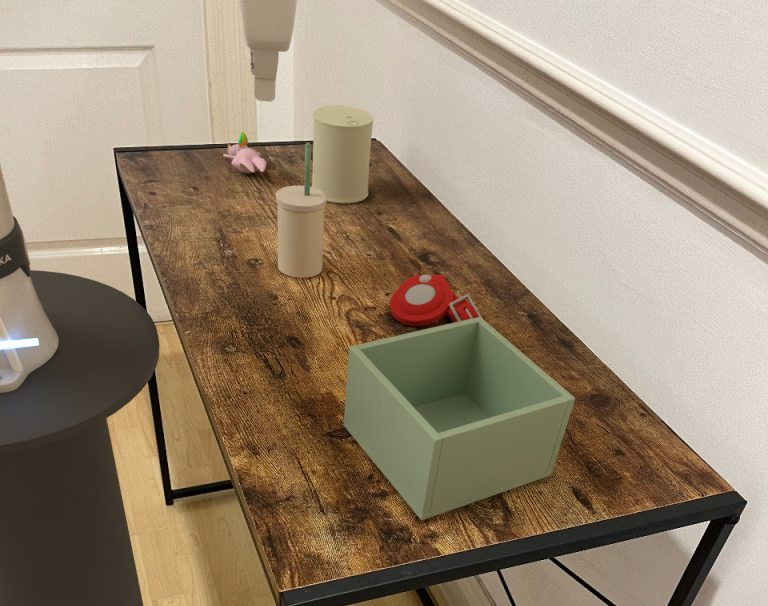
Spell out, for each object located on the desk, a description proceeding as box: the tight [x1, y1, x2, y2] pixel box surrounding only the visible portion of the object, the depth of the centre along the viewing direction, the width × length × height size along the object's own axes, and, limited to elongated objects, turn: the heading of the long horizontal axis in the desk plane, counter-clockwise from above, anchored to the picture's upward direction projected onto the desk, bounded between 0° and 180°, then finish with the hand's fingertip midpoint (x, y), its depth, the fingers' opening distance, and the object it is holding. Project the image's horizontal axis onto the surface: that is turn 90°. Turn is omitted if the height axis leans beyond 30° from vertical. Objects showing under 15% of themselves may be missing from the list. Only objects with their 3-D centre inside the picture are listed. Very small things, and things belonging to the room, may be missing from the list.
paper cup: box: [275, 142, 327, 279], centre depth 100 cm, size 6×6×16 cm
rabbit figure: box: [222, 131, 267, 175], centre depth 126 cm, size 6×6×15 cm
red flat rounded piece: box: [389, 274, 483, 327], centre depth 99 cm, size 12×4×10 cm
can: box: [310, 105, 374, 205], centre depth 121 cm, size 9×9×12 cm
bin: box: [343, 316, 576, 521], centre depth 77 cm, size 16×16×10 cm
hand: (262, 86), depth 73 cm, fingers open, 8 cm apart
